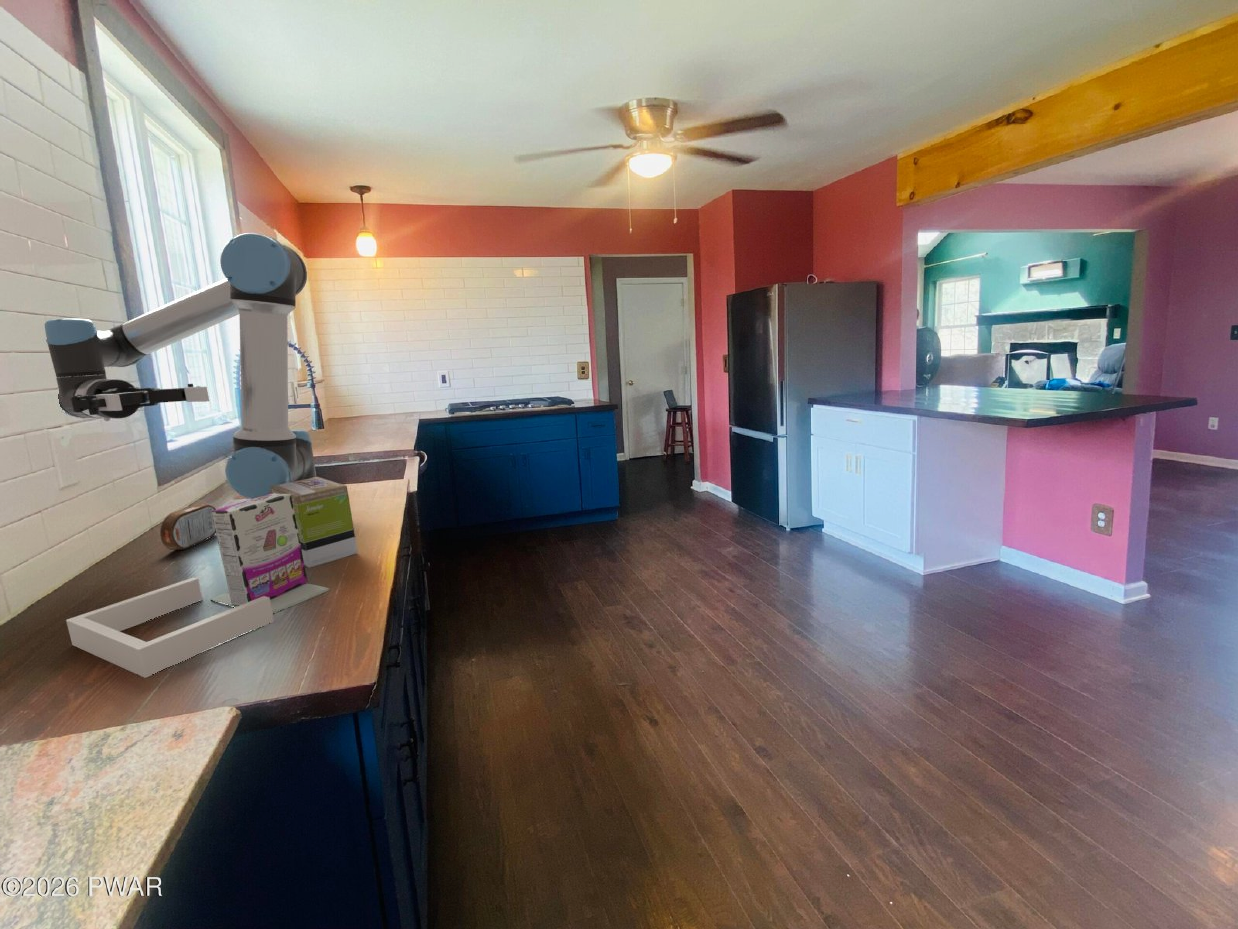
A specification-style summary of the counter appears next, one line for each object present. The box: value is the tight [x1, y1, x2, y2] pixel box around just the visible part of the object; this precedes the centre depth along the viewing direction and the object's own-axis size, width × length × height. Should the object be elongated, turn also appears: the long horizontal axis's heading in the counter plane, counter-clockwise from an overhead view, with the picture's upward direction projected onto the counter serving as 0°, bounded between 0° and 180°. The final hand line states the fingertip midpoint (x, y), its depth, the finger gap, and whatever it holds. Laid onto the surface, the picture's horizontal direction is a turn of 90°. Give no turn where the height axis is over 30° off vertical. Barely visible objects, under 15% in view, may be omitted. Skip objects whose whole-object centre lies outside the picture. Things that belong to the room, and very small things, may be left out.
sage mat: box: [210, 582, 330, 614], centre depth 102 cm, size 11×16×1 cm
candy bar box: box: [211, 493, 308, 606], centre depth 100 cm, size 11×5×16 cm, turn 158°
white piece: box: [65, 577, 275, 679], centre depth 89 cm, size 17×22×4 cm
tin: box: [159, 503, 217, 551], centre depth 134 cm, size 15×3×8 cm, turn 178°
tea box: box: [270, 476, 358, 569], centre depth 121 cm, size 15×10×15 cm
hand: (164, 398), depth 105 cm, fingers open, 13 cm apart
